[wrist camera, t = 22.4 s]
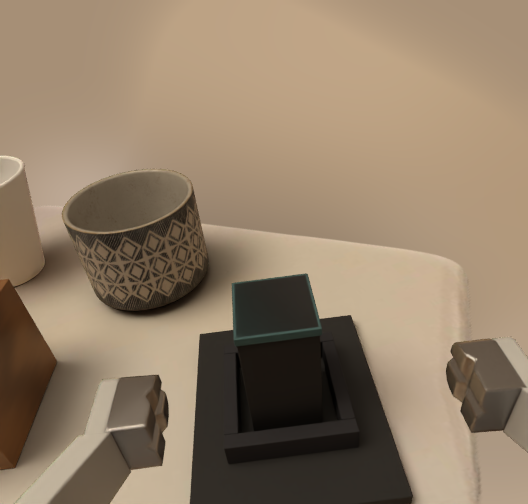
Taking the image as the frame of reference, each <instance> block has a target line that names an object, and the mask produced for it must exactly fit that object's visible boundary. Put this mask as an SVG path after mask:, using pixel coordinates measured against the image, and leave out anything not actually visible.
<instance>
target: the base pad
mask: <svg viewBox="0 0 528 504" xmlns="http://www.w3.org/2000/svg"><path fill="white" fill-rule="evenodd" d="M320 323H321V327H322V335H321V336H320V346H321V380H322V413H323V423H315V424H308V425H300V426H292V427H284V428H277V429H269V430H261V431H254V429H253V424H252V419H251V414H250V409H249V404H248V399H247V394H246V389H245V384H244V379H243V374H242V369H241V364H240V359H239V354H238V349H237V346H235V344H234V334H233V330H230V331H222V332H214V333H206V334H200V341H199V358H198V375H197V392H196V410H195V427H194V444H193V461H192V479H191V496H190V504H411V502H412V498H413V495H412V492H411V489H410V486H409V483H408V480H407V477H406V474H405V472H404V469H403V466H402V463H401V460H400V457H399V454H398V451H397V448H396V445H395V442H394V440H393V437H392V434H391V431H390V428H389V425H388V422H387V419H386V416H385V413H384V410H383V408H382V405H381V402H380V399H379V396H378V393H377V390H376V387H375V384H374V381H373V379H372V376H371V373H370V370H369V367H368V364H367V361H366V358H365V355H364V352H363V349H362V347H361V344H360V341H359V338H358V335H357V332H356V329H355V326H354V323H353V320H352V317H351V315H348V316H340V317H332V318H324V319H320Z"/></svg>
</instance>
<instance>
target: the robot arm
mask: <svg viewBox="0 0 528 504" xmlns="http://www.w3.org/2000/svg"><path fill="white" fill-rule="evenodd" d="M451 354H452V356H453V358H452V359H451V360H450V361H449V362H448V363H447V368H446V375H447V382H448V385H449V388H450V390H451V392H452V394H453V396H454V397H455V398H457V399H458V400H459V401H461V402H462V407H461V410H460V411H461V413H462V415H463V417H464V419H465V421H466V423H467V425H468V427H469V429H470V431H471V433H476V432H487V431H501V430H504V431H503V432H504V433H505V434H506V435H507V436H509V437H510V438H511V439H512V440H513V441H515V442H516V443H517V444H518V445H519V446H520V447H522V448H523V449H524V450H525V451H526V452H527V453H528V357H527V355H526V354H525V353H524V351H523V350H522V349H521V347H520V346H519V344H518V343H517V342H516V340H515V339H513V338H512V337H502V338H493V339H481V340H472V341H464V342H456V343H454V344H453V345H452V348H451ZM161 383H162V382H161V380H160V377H159V375H148V376H135V377H123V378H112V379H102V381H101V382H100V384H99V385H98V389H97V392H96V395H95V399H94V402H93V405H92V409H91V412H90V415H89V419H88V422H87V425H86V428H85V432H84V435H79V436H77V437H76V438H75V439H74V440H73V441H72V443H71V444H70V445H69V446H68V447H67V448H66V449H65V450H64V451H63V452H62V453H61V454H60V455H59V456H58V457H57V458H56V459H55V461H54V462H53V463H52V464H51V465H50V466H49V467H48V468H47V469H46V470H45V471H44V472H43V473H42V474H41V475H40V476H39V477H38V479H37V480H36V481H35V482H34V483H33V484H32V485H31V486H30V487H29V488H28V489H27V490H26V491H25V492H24V493H23V494H22V495H21V496H20V498H19V499H18V500H17V501H16V502H15V503H14V504H110V502H111V501H112V499H113V498H114V496H115V495H116V493H117V492H118V490H119V489H120V487H121V486H122V484H123V483H124V481H125V480H126V479H127V477H128V476H129V474H130V473H131V471H130V470H134V469H141V468H149V467H156V466H162V463H163V456H164V449H165V440H164V437H163V434H162V433H163V431H164V430H165V429H166V428H167V426H168V417H169V412H168V400H167V396H166V393H165V392H164V391H162V390H161Z"/></svg>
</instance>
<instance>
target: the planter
mask: <svg viewBox="0 0 528 504" xmlns="http://www.w3.org/2000/svg"><path fill="white" fill-rule="evenodd" d="M62 219H63V221H64V224H65V226H66V228H67V230H68V233H69V235H70V237H71V239H72V242H73V244H74V246H75V248H76V251H77V253H78V255H79V257H80V260H81V262H82V264H83V267H84V269H85V271H86V273H87V276H88V278H89V280H90V282H91V285H92V287H93V289H94V291H95V294H96V295H97V297H98V298H99V299H100V300H101V301H102V302H103V303H105V304H107V305H108V306H111V307H113V308H116V309H121V310H128V311H139V310H148V309H153V308H157V307H161V306H164V305H167V304H169V303H172V302H174V301H176V300H178V299H180V298H181V297H183V296H185V295H186V294H188V293H189V292H190V291H192V290H193V289H194V288H195V287H196V286H197V285H198V284H199V283H200V282H201V280H202V279H203V277H204V276H205V274H206V272H207V269H208V262H209V260H208V254H207V250H206V245H205V241H204V236H203V232H202V227H201V222H200V218H199V214H198V209H197V204H196V200H195V195H194V191H193V186H192V183H191V181H190V180H189V179H188V178H187V177H186V176H184V175H183V174H181V173H178V172H175V171H171V170H165V169H142V170H134V171H128V172H124V173H120V174H116V175H113V176H109V177H107V178H104V179H101V180H99V181H97V182H94V183H92V184H90V185H88V186H87V187H85V188H83V189H82V190H80V191H79V192H78V193H76V194H75V195H74V196H73V197H71V198H70V200H69V201H68V202H67V203H66V205H65V206H64V208H63V211H62Z"/></svg>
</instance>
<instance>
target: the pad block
mask: <svg viewBox="0 0 528 504" xmlns="http://www.w3.org/2000/svg"><path fill="white" fill-rule="evenodd" d="M232 304H233V334H234V344H235V346H237V349H238V354H239V359H240V364H241V369H242V374H243V379H244V384H245V389H246V394H247V399H248V404H249V409H250V414H251V419H252V424H253V429H254V431H261V430H269V429H277V428H284V427H292V426H300V425H308V424H315V423H323V413H322V380H321V346H320V336H321V335H322V327H321V323H320V319H319V315H318V312H317V308H316V304H315V300H314V296H313V293H312V289H311V285H310V281H309V277H308V274H299V275H292V276H284V277H276V278H268V279H261V280H253V281H245V282H237V283H232Z"/></svg>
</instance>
